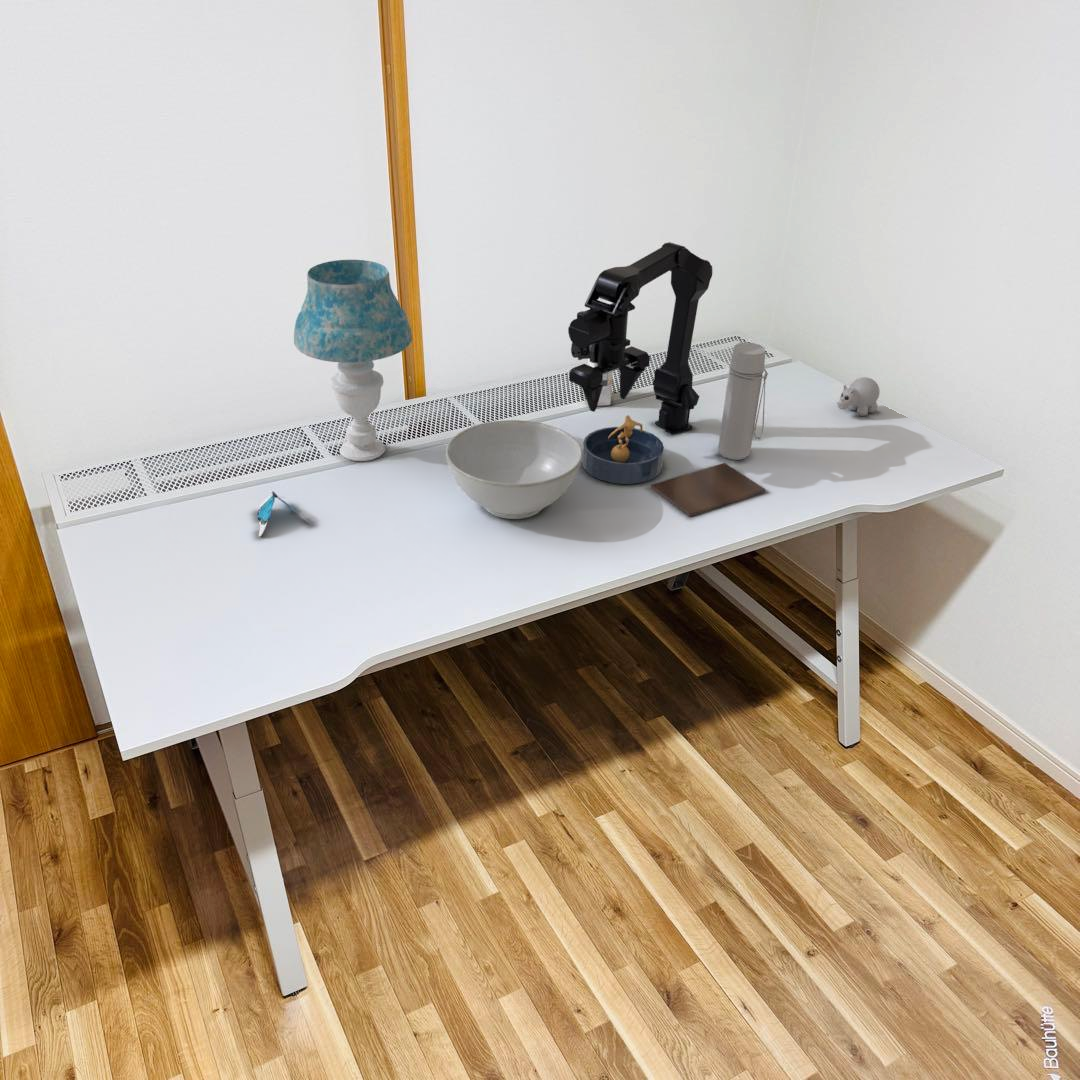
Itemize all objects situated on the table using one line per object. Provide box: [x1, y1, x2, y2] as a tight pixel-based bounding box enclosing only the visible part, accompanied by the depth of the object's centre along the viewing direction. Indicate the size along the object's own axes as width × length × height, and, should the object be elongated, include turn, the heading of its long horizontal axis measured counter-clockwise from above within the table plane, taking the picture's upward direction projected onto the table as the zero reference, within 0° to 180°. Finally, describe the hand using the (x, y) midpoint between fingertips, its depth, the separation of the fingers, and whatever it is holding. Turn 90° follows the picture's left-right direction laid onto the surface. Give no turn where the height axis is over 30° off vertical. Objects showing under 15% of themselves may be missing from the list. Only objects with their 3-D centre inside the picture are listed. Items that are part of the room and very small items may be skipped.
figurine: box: [608, 414, 644, 463], centre depth 210 cm, size 8×6×12 cm
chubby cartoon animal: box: [836, 376, 881, 417], centre depth 236 cm, size 7×12×8 cm, turn 120°
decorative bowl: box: [445, 419, 583, 520], centre depth 196 cm, size 27×27×12 cm
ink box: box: [587, 359, 614, 407], centre depth 238 cm, size 9×5×15 cm, turn 6°
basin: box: [581, 426, 665, 485], centre depth 212 cm, size 17×17×5 cm
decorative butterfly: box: [257, 490, 309, 537], centre depth 191 cm, size 10×6×10 cm
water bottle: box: [717, 341, 769, 461], centre depth 212 cm, size 9×8×25 cm
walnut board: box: [650, 462, 766, 518], centre depth 205 cm, size 20×13×1 cm, turn 121°
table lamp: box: [293, 259, 413, 462], centre depth 205 cm, size 24×24×40 cm
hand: (607, 404), depth 208 cm, fingers open, 9 cm apart
